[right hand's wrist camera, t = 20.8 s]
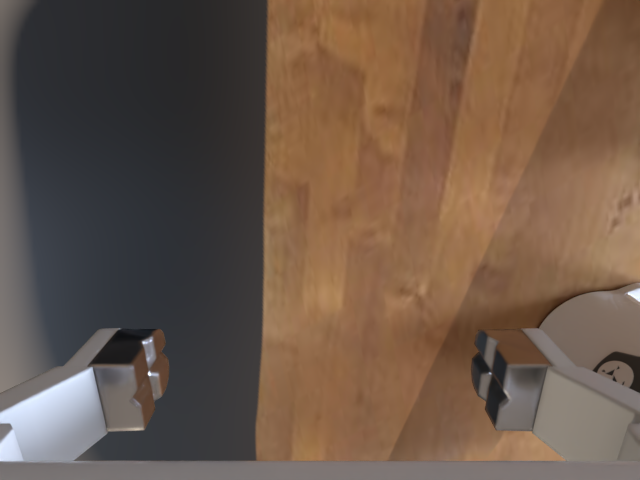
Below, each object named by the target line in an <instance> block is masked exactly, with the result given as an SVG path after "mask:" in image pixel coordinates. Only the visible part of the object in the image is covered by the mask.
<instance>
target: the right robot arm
mask: <svg viewBox="0 0 640 480" xmlns="http://www.w3.org/2000/svg"><path fill="white" fill-rule="evenodd" d="M164 346H165V339H164V334H163V332H162V331H161V330H160V329H120V328H105V329H99V330H98V331H97V332H96V333H95V334H94V335H93V336H92V337H91V338H90V339H89V340H88V341H87V342H86V343H85V344H84V345H83V347H82V348H81V349H80V350H79V351H78V352H77V353H76V354H75V355H74V356H73V357H72V358H71V359H70V360H69V361H68V362H67V363H66V364H65V365H64V366H63V367H55V368H53V369H51V370H49V371H47V372H44V373H42V374H40V375H38V376H36V377H34V378H32V379H29V380H27V381H25V382H23V383H21V384H19V385H17V386H14V387H12V388H10V389H8V390H6V391H4V392H2V393H0V480H640V283H634V284H630V285H627V286H625V287H622V288H620V289H617V290H613V291H597V292H590V293H586V294H582V295H579V296H576V297H574V298H572V299H570V300H568V301H566V302H564V303H563V304H561V305H560V306H558V307H557V308H556V309H555V310H553V311H552V312H551V313H550V314H549V315H548V316H547V317H546V319H545V320H544V321H543V323H542V324H541V326H540V327H539V329H538V328H527V329H497V330H478V332H477V334H476V338H475V346H476V347H477V349H478V351H479V352H478V353H477V354H476V355H475V356H474V357H473V358H472V365H471V376H472V382H473V386H474V389H475V391H476V393H477V395H478V396H479V397H480V398H482V399H483V400H485V401H486V406H485V410H486V412H487V414H488V416H489V418H490V420H491V422H492V424H493V425H494V427H495V429H496V430H506V431H533V432H532V433H533V434H534V435H536V436H537V437H538V438H539V439H540V440H542V441H543V442H544V443H545V444H547V445H548V446H549V447H550V448H552V449H553V450H554V451H555V452H557V453H558V454H559V455H560V456H561V457H563V458H564V459H565V460H566V461H74V460H75V459H76V458H77V457H79V456H80V455H81V454H82V453H84V452H85V451H86V450H87V449H89V448H90V447H91V446H92V445H94V444H95V443H96V442H97V441H98V440H100V439H101V438H102V437H103V436H105V435H106V434H107V431H133V430H144V429H145V427H146V425H147V424H148V422H149V420H150V418H151V416H152V414H153V412H154V410H155V406H154V401H155V400H157V399H158V398H160V397H161V396H162V395H163V393H164V391H165V389H166V386H167V382H168V377H169V364H168V358H167V357H166V356H165V355H164V354H163V353H162V352H161V351H162V349H163V347H164Z"/></svg>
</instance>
